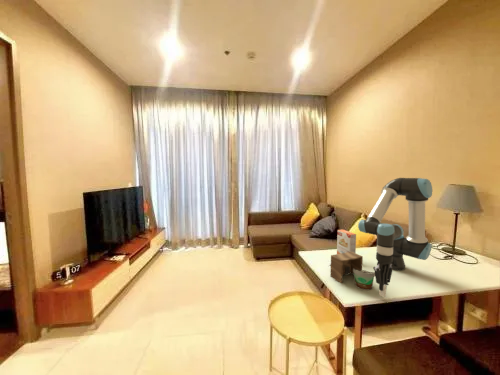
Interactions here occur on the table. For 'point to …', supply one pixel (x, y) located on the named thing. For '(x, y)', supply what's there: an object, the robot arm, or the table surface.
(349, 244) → the cracker box
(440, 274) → the table surface
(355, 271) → the food container
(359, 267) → the walnut shelf
